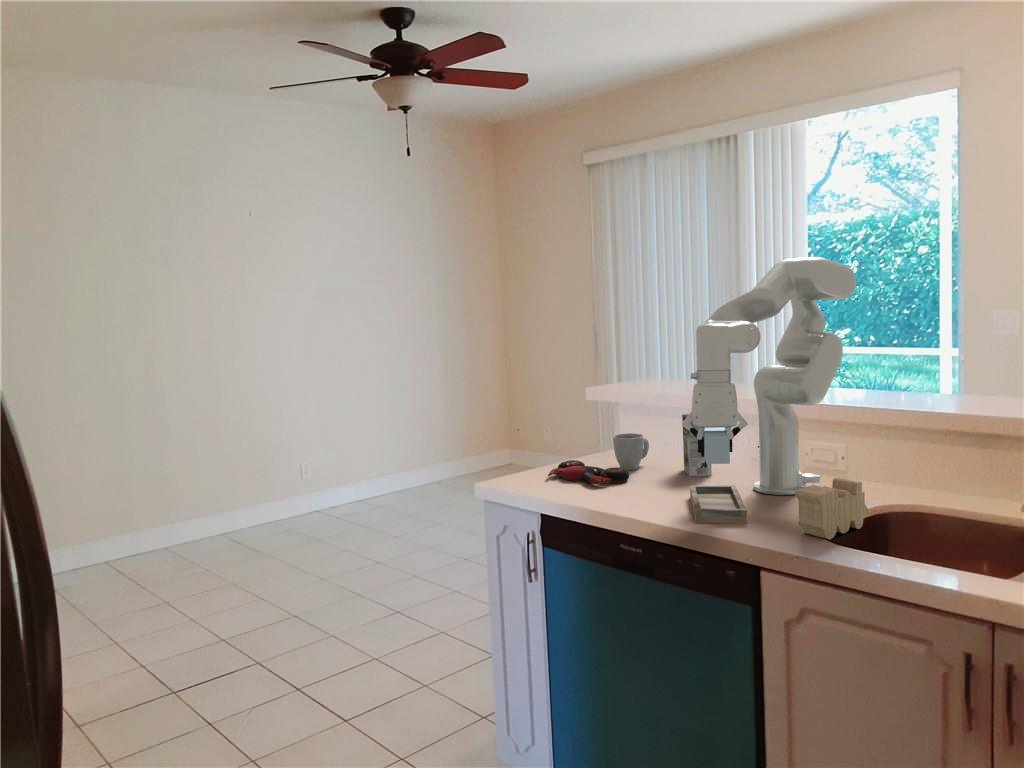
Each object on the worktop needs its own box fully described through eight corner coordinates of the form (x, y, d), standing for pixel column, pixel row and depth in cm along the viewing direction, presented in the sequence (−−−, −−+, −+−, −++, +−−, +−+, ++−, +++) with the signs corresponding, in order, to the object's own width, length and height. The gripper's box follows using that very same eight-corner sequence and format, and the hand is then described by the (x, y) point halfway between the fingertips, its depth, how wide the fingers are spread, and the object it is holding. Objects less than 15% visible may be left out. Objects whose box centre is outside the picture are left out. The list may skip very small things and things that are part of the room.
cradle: (690, 497, 195) (690, 485, 195) (735, 497, 193) (735, 485, 193) (696, 523, 173) (695, 510, 173) (747, 523, 171) (746, 510, 171)
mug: (627, 472, 225) (626, 439, 224) (608, 468, 232) (606, 436, 231) (658, 466, 232) (657, 434, 230) (638, 461, 239) (637, 430, 238)
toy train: (868, 526, 165) (868, 479, 164) (819, 543, 156) (818, 494, 155) (845, 520, 170) (844, 475, 169) (795, 537, 161) (794, 489, 160)
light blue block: (729, 463, 173) (729, 436, 173) (706, 463, 174) (706, 437, 173) (722, 449, 189) (722, 425, 188) (701, 450, 190) (701, 425, 189)
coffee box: (683, 469, 226) (681, 414, 224) (705, 468, 225) (704, 413, 224) (689, 476, 217) (687, 419, 215) (712, 475, 216) (711, 418, 215)
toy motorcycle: (572, 473, 235) (532, 474, 225) (573, 456, 235) (533, 456, 225) (634, 488, 216) (593, 490, 206) (636, 469, 216) (595, 471, 205)
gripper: (676, 380, 177) (678, 459, 179) (754, 378, 174) (755, 458, 176) (675, 376, 185) (676, 452, 187) (750, 374, 182) (751, 452, 184)
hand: (715, 454), depth 181 cm, fingers closed on light blue block, 5 cm apart
